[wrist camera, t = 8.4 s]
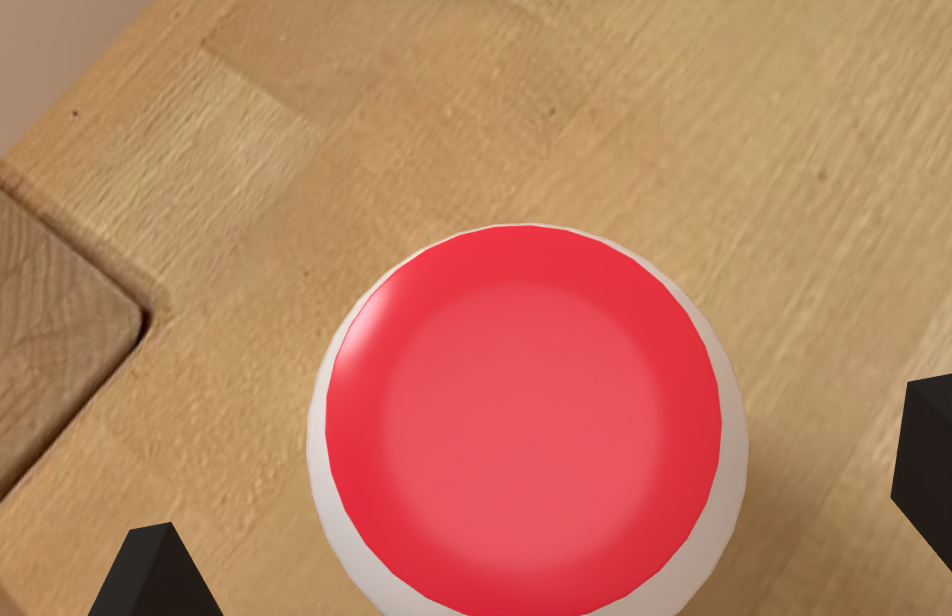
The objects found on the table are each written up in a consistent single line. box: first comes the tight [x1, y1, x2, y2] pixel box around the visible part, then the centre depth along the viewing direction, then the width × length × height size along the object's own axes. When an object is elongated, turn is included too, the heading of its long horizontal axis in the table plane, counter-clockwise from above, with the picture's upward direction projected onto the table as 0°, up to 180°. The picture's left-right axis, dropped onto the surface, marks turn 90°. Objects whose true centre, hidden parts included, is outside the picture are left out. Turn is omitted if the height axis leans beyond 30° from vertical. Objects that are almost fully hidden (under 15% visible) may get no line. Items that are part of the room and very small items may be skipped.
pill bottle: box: [306, 223, 749, 616], centre depth 15 cm, size 8×8×11 cm
